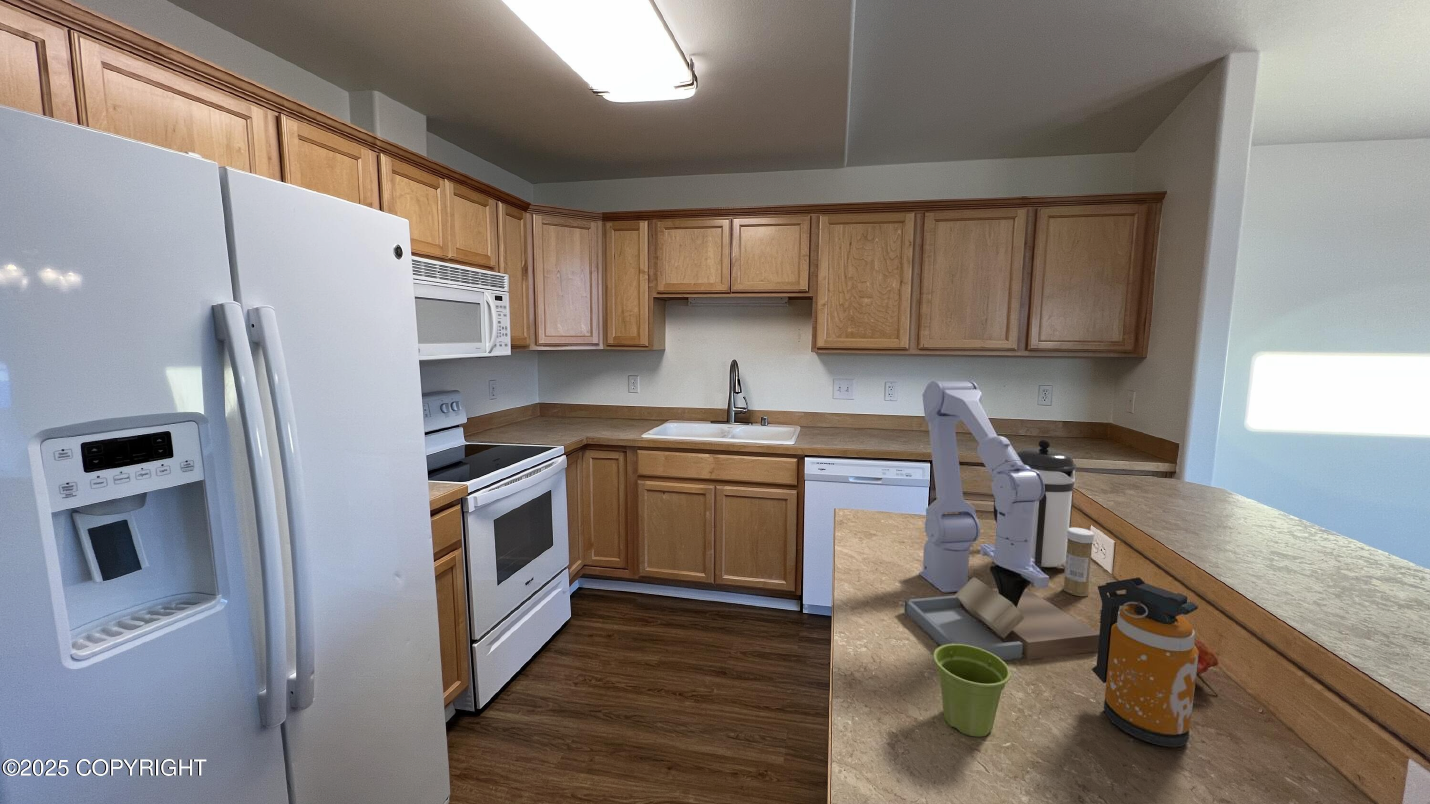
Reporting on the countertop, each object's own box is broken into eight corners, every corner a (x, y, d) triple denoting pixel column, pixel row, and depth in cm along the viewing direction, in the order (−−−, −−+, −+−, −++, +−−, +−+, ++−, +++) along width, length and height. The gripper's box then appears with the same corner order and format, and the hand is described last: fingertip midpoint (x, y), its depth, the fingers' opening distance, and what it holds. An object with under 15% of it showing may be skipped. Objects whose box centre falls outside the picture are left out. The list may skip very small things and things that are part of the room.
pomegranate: (1215, 695, 81) (1159, 632, 87) (1254, 679, 76) (1191, 614, 82) (1182, 710, 79) (1127, 645, 85) (1220, 695, 74) (1159, 626, 80)
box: (904, 612, 101) (905, 599, 101) (957, 607, 103) (958, 595, 103) (960, 665, 85) (960, 650, 84) (1021, 657, 87) (1022, 643, 86)
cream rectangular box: (966, 608, 99) (954, 594, 98) (985, 590, 99) (973, 576, 99) (1003, 638, 89) (991, 622, 89) (1024, 618, 90) (1012, 602, 89)
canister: (1168, 761, 65) (1185, 610, 63) (1074, 706, 75) (1085, 574, 73) (1201, 736, 69) (1218, 593, 67) (1107, 687, 79) (1119, 561, 77)
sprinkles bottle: (1092, 593, 109) (1098, 531, 107) (1082, 599, 106) (1088, 536, 105) (1068, 585, 113) (1073, 525, 111) (1058, 590, 110) (1063, 529, 109)
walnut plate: (958, 605, 104) (959, 591, 103) (1020, 599, 106) (1021, 585, 106) (1027, 659, 86) (1028, 642, 86) (1099, 650, 89) (1101, 634, 88)
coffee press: (1071, 558, 127) (1081, 437, 123) (1074, 583, 113) (1086, 448, 110) (991, 543, 136) (999, 430, 133) (985, 565, 123) (993, 440, 119)
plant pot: (922, 695, 77) (925, 640, 76) (988, 700, 76) (992, 645, 75) (943, 744, 68) (946, 682, 67) (1019, 750, 67) (1024, 687, 66)
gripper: (1067, 550, 87) (1060, 626, 89) (1004, 520, 101) (999, 587, 103) (1030, 552, 86) (1024, 630, 87) (972, 523, 100) (967, 590, 102)
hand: (1008, 607), depth 95 cm, fingers closed
